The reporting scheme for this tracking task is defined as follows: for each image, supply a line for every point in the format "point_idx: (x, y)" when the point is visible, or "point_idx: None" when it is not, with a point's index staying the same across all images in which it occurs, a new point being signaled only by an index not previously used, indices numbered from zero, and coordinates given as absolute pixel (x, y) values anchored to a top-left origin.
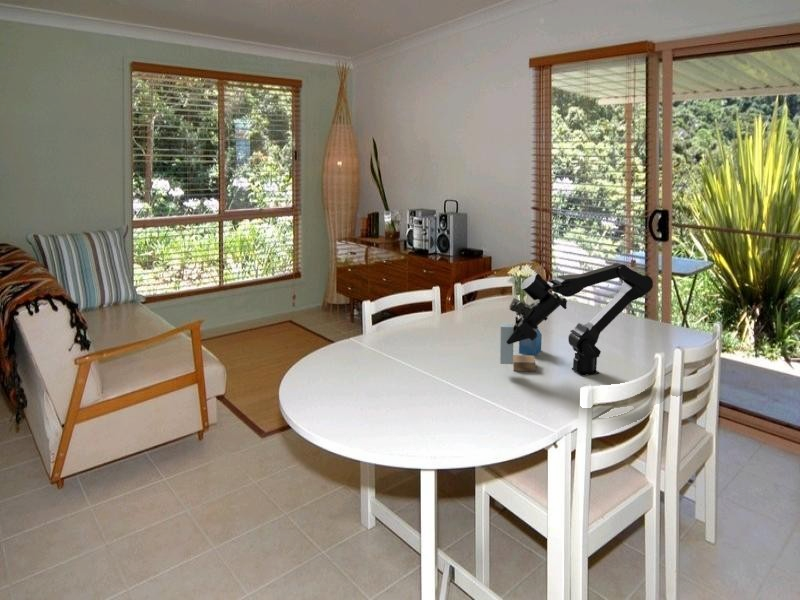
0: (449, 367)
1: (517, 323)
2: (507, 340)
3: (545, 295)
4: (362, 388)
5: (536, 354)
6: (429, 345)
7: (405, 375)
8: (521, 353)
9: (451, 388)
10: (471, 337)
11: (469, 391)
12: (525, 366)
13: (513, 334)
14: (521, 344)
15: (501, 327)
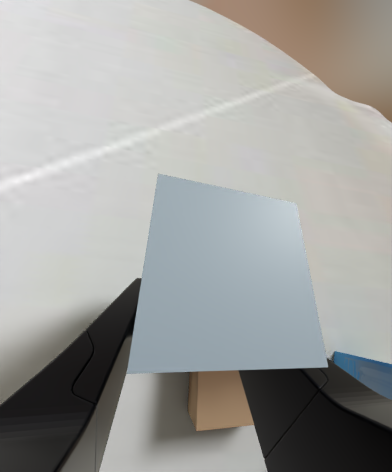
0: (209, 167)
1: (364, 453)
2: (138, 284)
3: None
4: (103, 30)
5: None
6: (321, 157)
7: (163, 92)
8: (334, 359)
9: (69, 146)
10: (388, 237)
11: (34, 179)
12: (193, 373)
13: (71, 345)
14: (365, 367)
15: (158, 186)
